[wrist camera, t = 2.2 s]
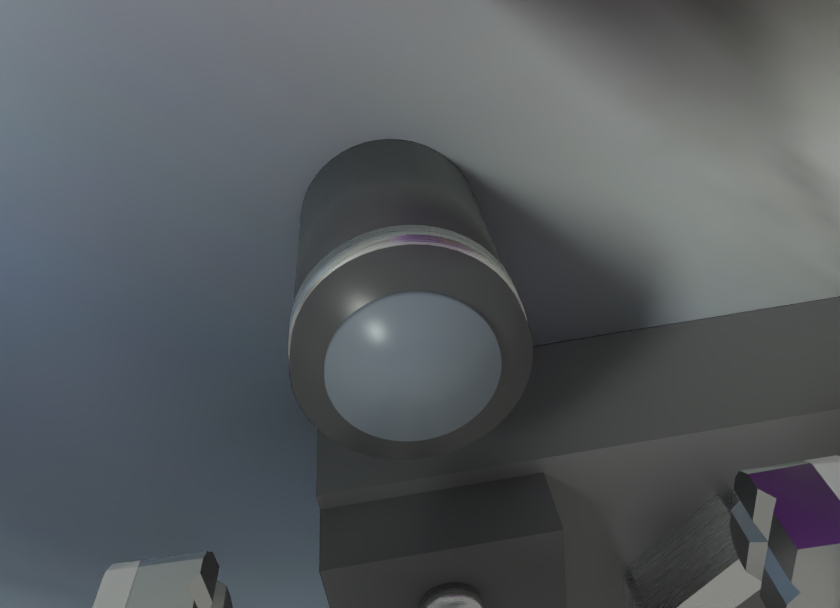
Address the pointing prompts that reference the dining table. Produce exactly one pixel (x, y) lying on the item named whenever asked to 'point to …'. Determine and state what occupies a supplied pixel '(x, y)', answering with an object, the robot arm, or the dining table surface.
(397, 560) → the camera body
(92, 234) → the dining table surface
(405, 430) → the lens
